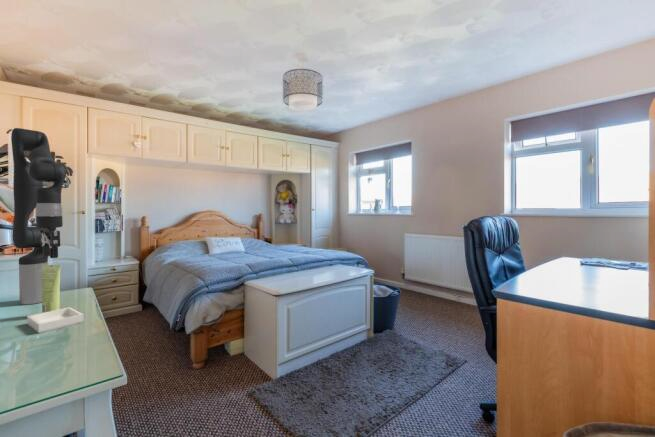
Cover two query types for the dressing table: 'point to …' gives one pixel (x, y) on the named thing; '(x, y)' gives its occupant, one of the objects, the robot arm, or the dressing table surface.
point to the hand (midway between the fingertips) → (50, 257)
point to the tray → (54, 319)
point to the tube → (50, 288)
